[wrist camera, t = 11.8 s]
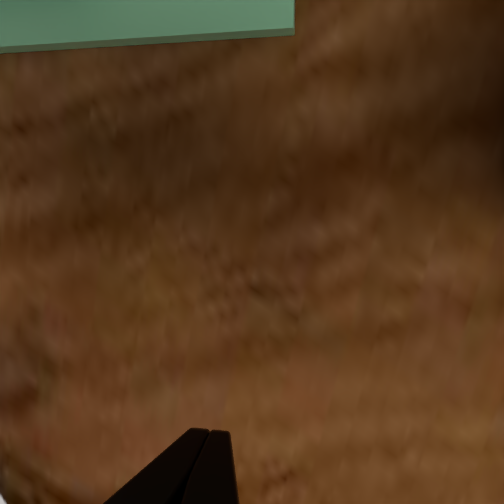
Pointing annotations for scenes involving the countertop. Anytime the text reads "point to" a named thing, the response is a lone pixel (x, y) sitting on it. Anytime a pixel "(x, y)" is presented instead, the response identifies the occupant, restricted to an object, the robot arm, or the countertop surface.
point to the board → (137, 22)
